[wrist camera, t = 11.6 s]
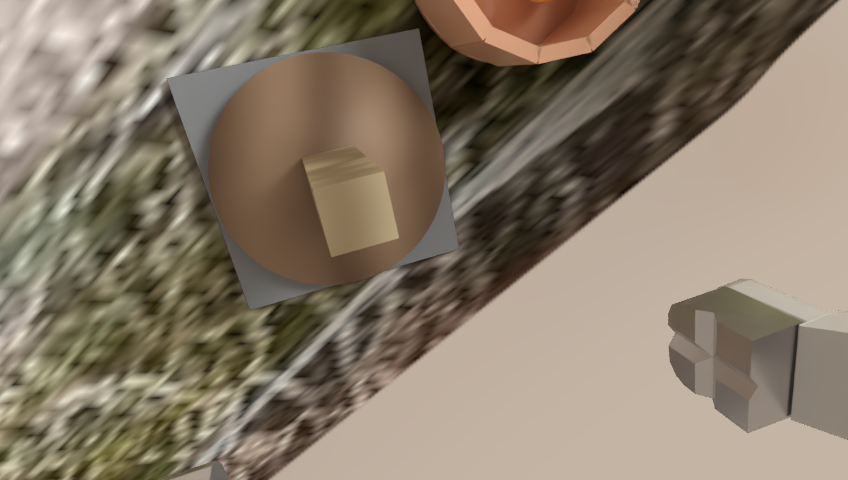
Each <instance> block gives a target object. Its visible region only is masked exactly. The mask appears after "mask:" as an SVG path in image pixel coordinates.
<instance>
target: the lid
mask: <svg viewBox="0 0 848 480" xmlns="http://www.w3.org/2000/svg"><path fill="white" fill-rule="evenodd" d="M208 177H209V184H210V191H211V195H212V198H213V202H214V205H215V208H216V210H217V213H218V215H219V217H220V220H221V222H222V223H223V225H224V227H225V228H226V230H227V231H228V233H229V235H230V236H231V237H232V238H233V240H234V241H235V242H236V243H237V245H238V246H239V247H240V248H241V249H242V250H243V251H244V252H245V253H246V254H247V255H249V256H250V257H251V258H252V259H253V260H255V261H256V262H258V263H259V264H260V265H262V266H263V267H265V268H267V269H269V270H270V271H272V272H274V273H276V274H278V275H281V276H283V277H286V278H288V279H291V280H295V281H299V282H303V283H308V284H316V285H339V284H348V283H352V282H357V281H361V280H364V279H367V278H370V277H372V276H375V275H377V274H379V273H381V272H383V271H385V270H387V269H389V268H390V267H392V266H393V265H395V264H396V263H398V262H399V261H400V260H402V259H403V258H404V257H405V256H406V255H408V254H409V253H410V252H411V251H412V250H413V249H414V248H415V246H416V245H417V244H418V243H419V242H420V241H421V239H422V238H423V237H424V235H425V234H426V232H427V231H428V229H429V227H430V226H431V224H432V222H433V220H434V218H435V216H436V213H437V211H438V208H439V206H440V202H441V198H442V195H443V190H444V182H445V157H444V149H443V145H442V141H441V137H440V134H439V131H438V128H437V126H436V123H435V121H434V119H433V117H432V115H431V113H430V112H429V110H428V108H427V106H426V105H425V104H424V102H423V101H422V100H421V98H420V97H419V95H418V94H417V93H416V92H415V91H414V90H413V89H412V88H411V87H410V86H409V85H408V84H407V83H406V82H405V81H403V80H402V79H401V78H400V77H398V76H397V75H396V74H394V73H393V72H391V71H389V70H388V69H386V68H385V67H383V66H381V65H379V64H377V63H374V62H372V61H370V60H368V59H364V58H361V57H357V56H354V55H349V54H343V53H336V52H317V53H309V54H302V55H298V56H294V57H291V58H287V59H284V60H282V61H280V62H277V63H275V64H273V65H271V66H269V67H267V68H266V69H264V70H262V71H261V72H259V73H257V74H256V75H255V76H254V77H252V78H251V79H250V80H249V81H248V82H246V83H245V84H244V85H243V86H242V87H241V88H240V89H239V90H238V91H237V93H236V94H235V95H234V96H233V97H232V98H231V100H230V101H229V103H228V104H227V106H226V107H225V109H224V110H223V112H222V114H221V116H220V118H219V121H218V123H217V125H216V127H215V130H214V134H213V137H212V140H211V145H210V151H209V158H208Z"/></svg>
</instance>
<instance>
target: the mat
mask: <svg viewBox="0 0 848 480" xmlns="http://www.w3.org/2000/svg"><path fill="white" fill-rule="evenodd" d="M317 52H336V53H343V54H349V55H354V56H357V57H361V58H364V59H368V60H370V61H372V62H374V63H377V64H379V65H381V66H383V67H385V68H386V69H388V70H389V71H391V72H393V73H394V74H396V75H397V76H398V77H400V78H401V79H402V80H403V81H405V82H406V83H407V84H408V85H409V86H410V87H411V88H412V89H413V90H414V91H415V92H416V93H417V94H418V95H419V97H420V98H421V100H422V101H423V102H424V104H425V105H426V106H427V108H428V110H429V112H430V113H431V115H432V117H433V119H434V121H435V123H436V119H435V114H434V109H433V103H432V98H431V92H430V87H429V81H428V76H427V70H426V65H425V59H424V54H423V48H422V43H421V37H420V32H419V28H418V29H413V30H408V31H403V32H398V33H393V34H388V35H383V36H378V37H373V38H368V39H363V40H358V41H353V42H347V43H342V44H337V45H332V46H327V47H322V48H317V49H312V50H307V51H302V52H297V53H292V54H287V55H282V56H277V57H272V58H267V59H262V60H257V61H252V62H247V63H242V64H237V65H232V66H227V67H222V68H217V69H212V70H207V71H202V72H196V73H191V74H186V75H181V76H176V77H171V78H166V79H167V81H168V84H169V87H170V90H171V92H172V95H173V98H174V101H175V104H176V106H177V109H178V112H179V115H180V117H181V120H182V123H183V126H184V128H185V131H186V134H187V137H188V140H189V142H190V145H191V148H192V151H193V153H194V156H195V159H196V162H197V165H198V167H199V170H200V173H201V176H202V178H203V181H204V184H205V187H206V190H207V192H208V195H209V198H210V201H211V203H212V206H213V209H214V212H215V214H216V217H217V220H218V223H219V226H220V228H221V231H222V234H223V237H224V239H225V242H226V245H227V248H228V251H229V253H230V256H231V259H232V262H233V264H234V267H235V270H236V273H237V276H238V278H239V281H240V284H241V287H242V289H243V292H244V295H245V298H246V300H247V303H248V306H249V309H250V310H252V309H256V308H259V307H263V306H266V305H269V304H273V303H276V302H280V301H283V300H286V299H290V298H293V297H297V296H300V295H303V294H307V293H310V292H314V291H317V290H320V289H324V288H327V287H331V286H334V285H316V284H308V283H303V282H299V281H295V280H291V279H288V278H286V277H283V276H281V275H278V274H276V273H274V272H272V271H270V270H269V269H267V268H265V267H263V266H262V265H260V264H259V263H258V262H256V261H255V260H253V259H252V258H251V257H250V256H249V255H247V254H246V253H245V252H244V251H243V250H242V249H241V248H240V247H239V246H238V245H237V243H236V242H235V241H234V240H233V238H232V237H231V236H230V235H229V233H228V231H227V230H226V228H225V227H224V225H223V223H222V222H221V220H220V217H219V215H218V213H217V210H216V208H215V205H214V202H213V198H212V195H211V191H210V184H209V177H208V158H209V151H210V145H211V140H212V137H213V134H214V130H215V127H216V125H217V123H218V121H219V118H220V116H221V114H222V112H223V110H224V109H225V107H226V106H227V104H228V103H229V101H230V100H231V98H232V97H233V96H234V95H235V94H236V93H237V91H238V90H239V89H240V88H241V87H242V86H243V85H244V84H245V83H246V82H248V81H249V80H250V79H251V78H252V77H254V76H255V75H256V74H257V73H259V72H261V71H262V70H264V69H266V68H267V67H269V66H271V65H273V64H275V63H277V62H280V61H282V60H284V59H287V58H291V57H294V56H298V55H302V54H309V53H317ZM436 126H437V125H436ZM456 249H459V246H458V240H457V235H456V229H455V224H454V218H453V213H452V207H451V202H450V196H449V191H448V185H447V180H446V174H445V182H444V190H443V195H442V198H441V202H440V206H439V208H438V211H437V213H436V216H435V218H434V220H433V222H432V224H431V226H430V227H429V229H428V231H427V232H426V234H425V235H424V237H423V238H422V239H421V241H420V242H419V243H418V244H417V245H416V246H415V248H414V249H413V250H412V251H411V252H410V253H409V254H408V255H406V256H405V257H404V258H403V259H402V260H400V261H399V262H398V263H396V264H395V265H393V266H392V267H390V268H389V269H392V268H395V267H399V266H402V265H405V264H409V263H412V262H416V261H419V260H422V259H426V258H429V257H433V256H436V255H439V254H443V253H446V252H450V251H453V250H456ZM387 270H388V269H387Z"/></svg>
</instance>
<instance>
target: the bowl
mask: <svg viewBox="0 0 848 480" xmlns="http://www.w3.org/2000/svg"><path fill="white" fill-rule="evenodd" d="M639 1H640V0H414V2H415V4H416V6H417V8H418V10H419V12H420V14H421V15H422V17H423V18H424V20H425V21H426V23H427V24H428V26H429V27H430V28H431V30H432V31H433V32H434V33H435V34H436V35H437V36H438V37H439V38H440V39H441V40H442V41H443V42H444V43H445V44H446V45H448V46H449V47H450V48H452V49H453V50H455V51H456V52H458V53H460V54H462V55H464V56H466V57H468V58H471V59H474V60H477V61H480V62H486V63H490V64H493V65H496V66H514V65H530V64H541V63H545V62H550V61H554V60H559V59H563V58H567V57H572V56H576V55H581V54H585V53H590V52H591V51H594V50H595V49H596V48H597V47H598V46H599V45H600V44H601V43H602V42H603V41H604V40H605V39H606V38H607V37H608V36H609V35H610V34H612V33H613V32H614V31H615V30H616V29H617V28H618V27H619V26H620V25H621V24H622V23H623V22H624V21H625V20H626V19H627V18H628V17H629V16H630V15H631V14H632V13H633V12H634V11H635V9H637V7H638V4H639Z"/></svg>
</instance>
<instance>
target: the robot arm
mask: <svg viewBox="0 0 848 480" xmlns="http://www.w3.org/2000/svg"><path fill="white" fill-rule="evenodd" d="M668 317H669V319H668V325H669V326H670V327H671V328H672V330H673V331H674V332H675V335H674V337H673V339H672V341H671V343H670V345H669V356H670V363H671V365H672V367H673V369H674V371H675V373H676V376H677V377H678V378H679V379H680V381H681V382H682V383H683V384H684V385H685V386H686V387H688V388H689V389H690V390H691V391H692V392H694V393H695V394H699V395H702V396H706V397H710V398H712V399H713V403H714V406H715V409H716V410H718V411H719V412H720V413H722V414H723V415H724V416H725V417H727V418H728V419H729V420H731V421H732V422H733V423H735V424H736V425H737V426H739V427H740V428H741V429H743V430H744V431H746V432H747V433H749V432H752V431H755V430H757V429H760V428H762V427H765V426H768V425H770V424H773V423H776V422H778V421H781V420H784V419H786V418H789V417H791V420H793V421H796V422H799V423H802V424H804V425H807V426H810V427H813V428H816V429H818V430H821V431H824V432H827V433H830V434H833V435H836V436H838V437H841V438H844V439H847V440H848V312H847V311H839V310H838V311H835V312H832V313H830V312H828V311H825V310H823V309H820V308H818V307H816V306H813V305H811V304H808V303H806V302H804V301H801V300H799V299H796V298H794V297H792V296H789V295H787V294H785V293H782V292H780V291H778V290H775V289H773V288H770V287H768V286H765V285H763V284H761V283H758V282H756V281H754V280H750V279H740V280H737V281H735V282H732V283H729V284H727V285H724V286H721V287H719V288H718V289H716V290H713V291H710V292H707V293H704V294H702V295H699V296H696V297H693V298H690V299H687V300H684V301H681V302H679V303H676V304H673V305H672V306H671V308H670V311H669V313H668ZM157 480H229V478H228V476H227V474H226V472H225V470H224V468H223V466H222V464H221V463H219V462H217V461H213V462H210V463H207V464H204V465H201V466H198V467H195V468H192V469H188V470H185V471H182V472H179V473H176V474H173V475H170V476H167V477H163V478H160V479H157Z"/></svg>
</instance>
